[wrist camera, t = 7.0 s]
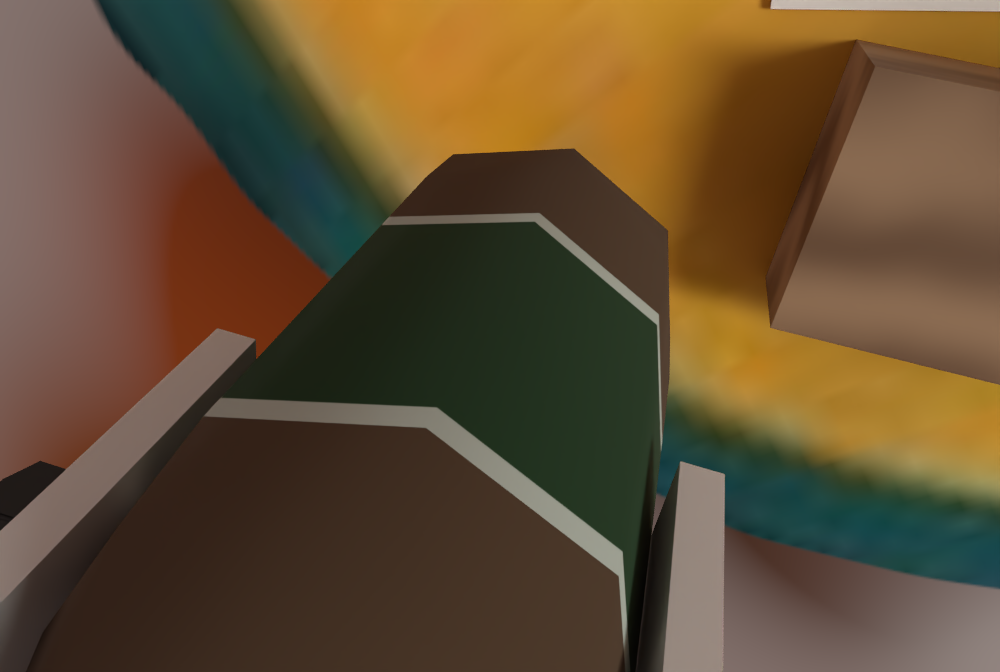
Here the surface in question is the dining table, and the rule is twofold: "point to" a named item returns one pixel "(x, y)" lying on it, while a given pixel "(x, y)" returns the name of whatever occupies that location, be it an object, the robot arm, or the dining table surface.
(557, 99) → the dining table surface
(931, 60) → the walnut base brick
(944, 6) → the page
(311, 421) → the beer bottle
